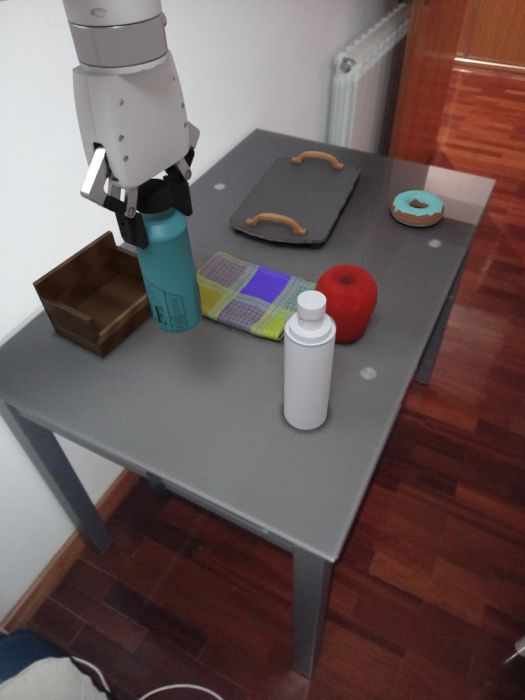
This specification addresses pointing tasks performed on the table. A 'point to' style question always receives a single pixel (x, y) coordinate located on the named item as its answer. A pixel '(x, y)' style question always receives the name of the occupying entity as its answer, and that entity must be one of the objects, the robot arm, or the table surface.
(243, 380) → the table surface
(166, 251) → the beverage bottle
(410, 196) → the donut
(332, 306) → the apple
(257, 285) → the dish towel
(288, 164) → the serving tray
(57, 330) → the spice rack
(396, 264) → the table surface
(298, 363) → the spray bottle
